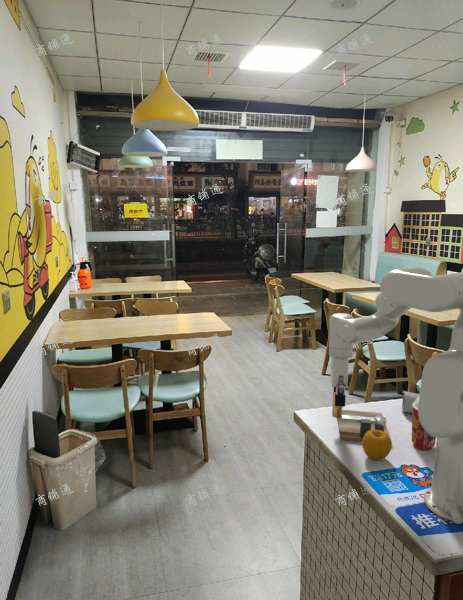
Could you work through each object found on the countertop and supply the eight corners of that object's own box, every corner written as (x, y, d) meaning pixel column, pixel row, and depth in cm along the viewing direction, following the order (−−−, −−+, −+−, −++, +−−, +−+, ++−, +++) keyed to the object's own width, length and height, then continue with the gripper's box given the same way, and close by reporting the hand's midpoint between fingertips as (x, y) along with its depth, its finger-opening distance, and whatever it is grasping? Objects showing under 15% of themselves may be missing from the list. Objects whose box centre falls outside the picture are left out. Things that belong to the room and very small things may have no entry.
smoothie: (440, 454, 133) (446, 394, 129) (411, 451, 135) (417, 392, 131) (433, 440, 141) (439, 383, 137) (406, 438, 143) (411, 381, 139)
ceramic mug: (426, 418, 156) (428, 398, 155) (402, 415, 159) (404, 395, 157) (423, 406, 166) (425, 387, 165) (400, 403, 169) (402, 385, 167)
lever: (385, 421, 145) (387, 395, 143) (386, 427, 141) (389, 400, 139) (331, 417, 148) (333, 391, 146) (332, 422, 145) (333, 395, 143)
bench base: (391, 445, 139) (392, 425, 137) (340, 440, 141) (341, 421, 140) (381, 416, 158) (382, 399, 156) (336, 413, 161) (337, 395, 159)
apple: (372, 468, 126) (374, 441, 124) (355, 453, 134) (356, 427, 132) (396, 463, 129) (398, 436, 127) (377, 448, 137) (379, 423, 135)
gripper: (328, 343, 150) (326, 389, 153) (330, 358, 133) (328, 410, 136) (350, 344, 148) (348, 390, 152) (355, 360, 132) (352, 412, 135)
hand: (339, 400), depth 144 cm, fingers open, 9 cm apart
